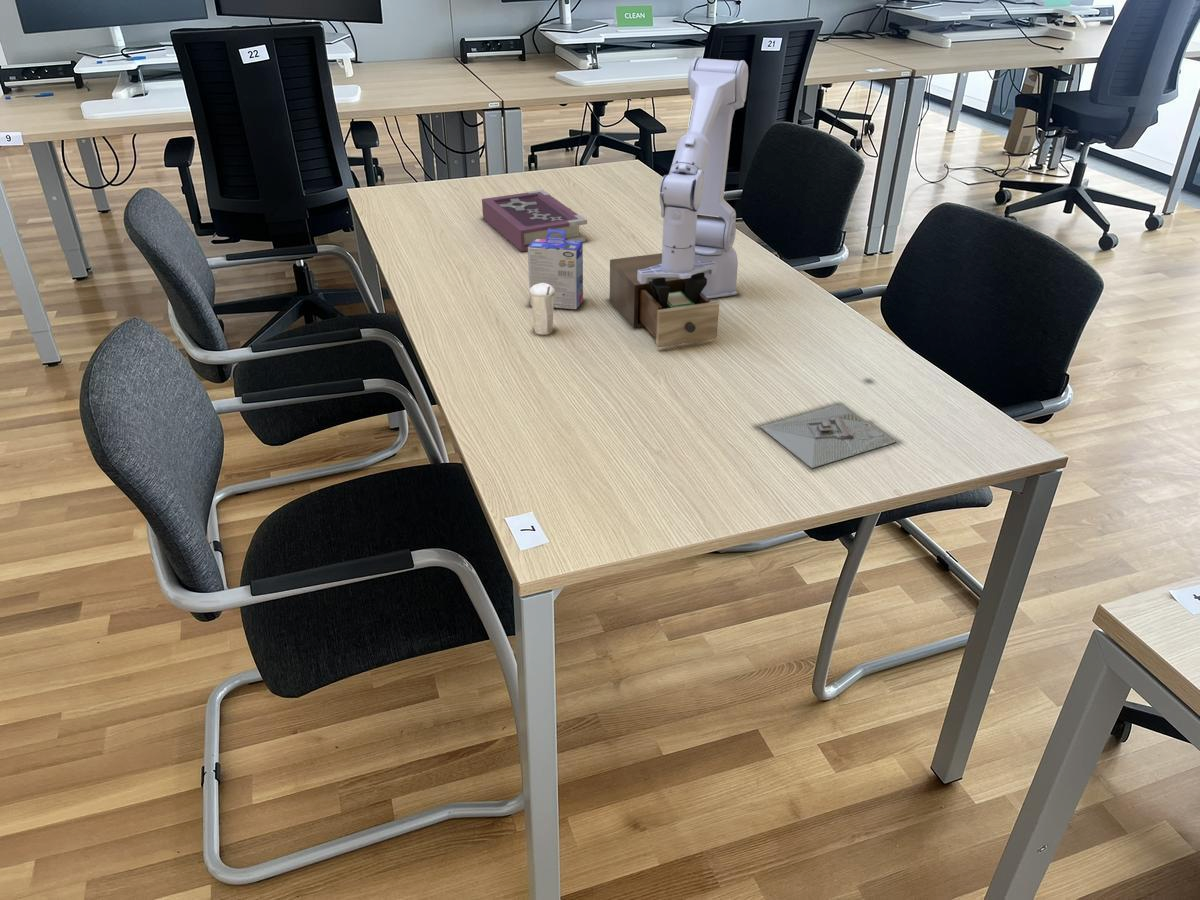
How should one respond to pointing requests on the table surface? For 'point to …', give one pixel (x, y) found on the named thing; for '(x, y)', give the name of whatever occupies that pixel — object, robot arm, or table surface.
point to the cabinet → (631, 284)
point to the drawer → (678, 318)
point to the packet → (678, 300)
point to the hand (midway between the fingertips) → (675, 314)
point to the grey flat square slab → (826, 435)
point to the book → (531, 218)
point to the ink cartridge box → (558, 268)
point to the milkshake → (542, 307)
